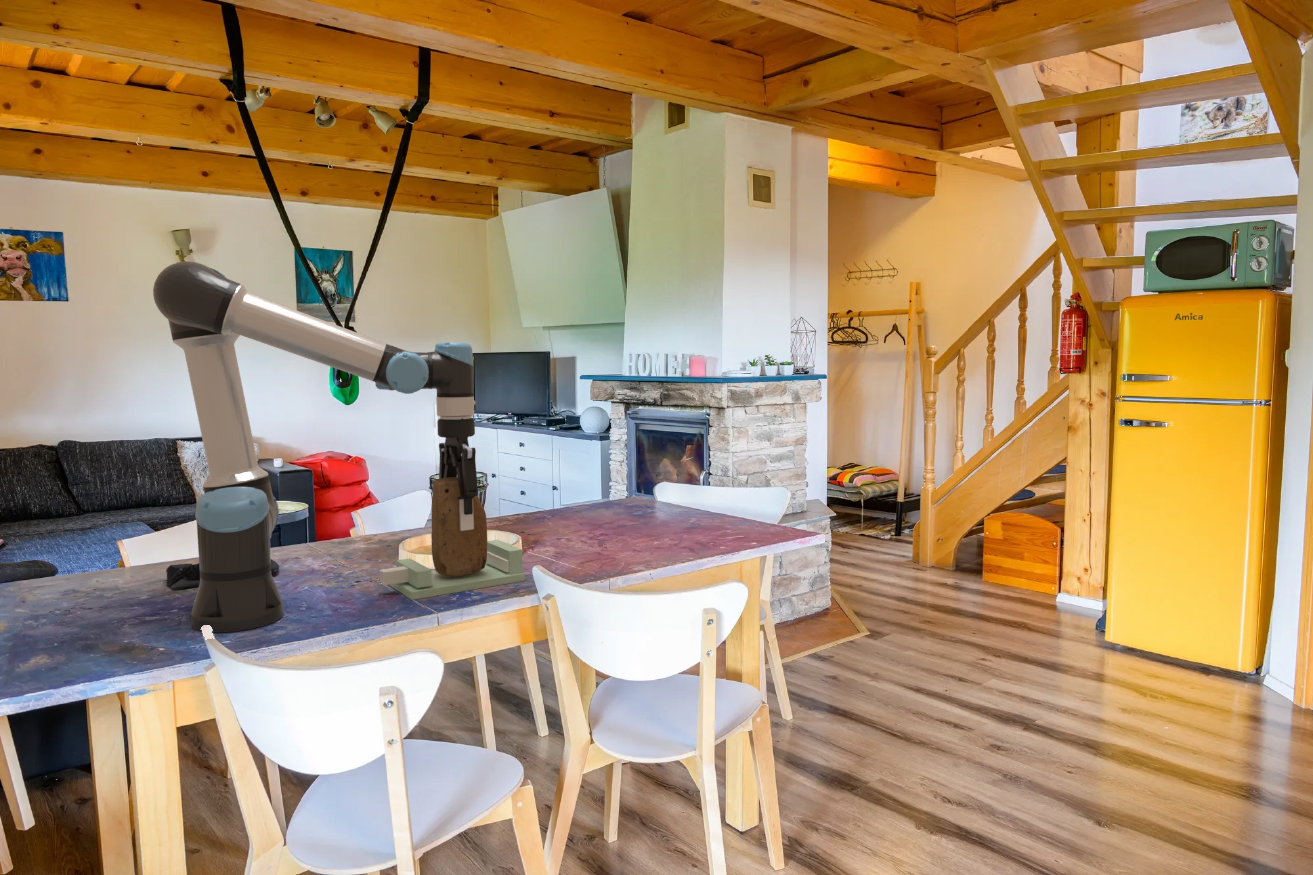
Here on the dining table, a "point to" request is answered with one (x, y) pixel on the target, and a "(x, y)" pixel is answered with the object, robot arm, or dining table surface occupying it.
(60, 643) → the dining table surface
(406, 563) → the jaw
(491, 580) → the vise
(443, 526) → the block
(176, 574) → the dark slate chunk
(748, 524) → the dining table surface
